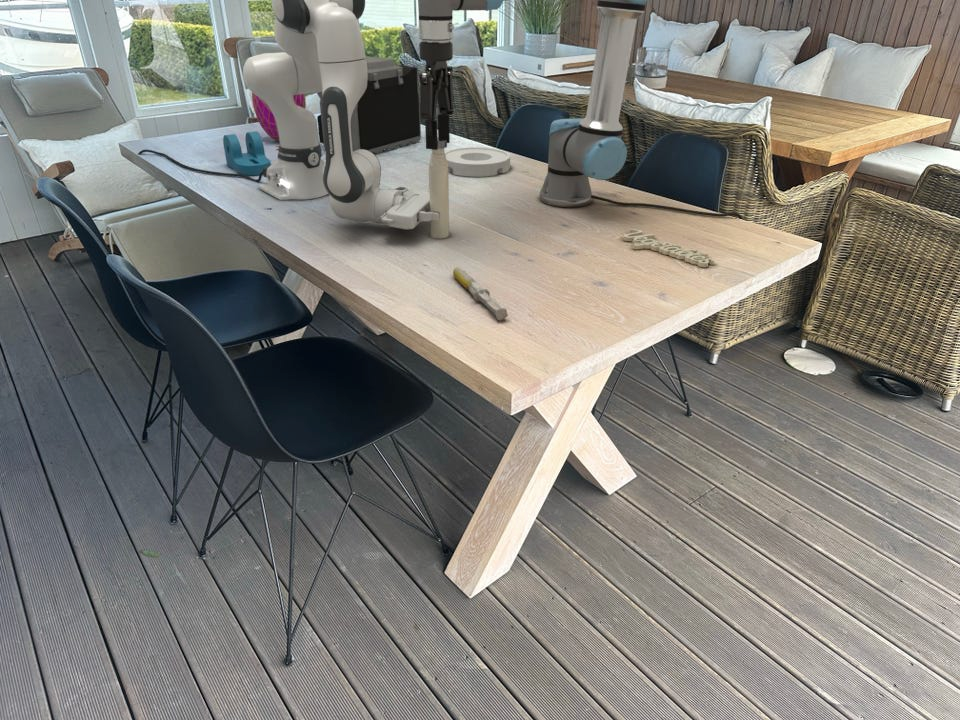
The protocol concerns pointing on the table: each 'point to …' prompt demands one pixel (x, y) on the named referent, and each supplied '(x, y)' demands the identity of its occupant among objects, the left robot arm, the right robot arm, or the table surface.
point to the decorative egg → (267, 116)
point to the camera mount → (246, 154)
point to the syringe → (479, 293)
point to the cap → (442, 142)
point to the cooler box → (384, 108)
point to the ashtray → (477, 161)
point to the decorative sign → (667, 248)
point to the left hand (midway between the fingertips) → (442, 212)
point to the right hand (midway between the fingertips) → (438, 145)
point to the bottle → (439, 193)
